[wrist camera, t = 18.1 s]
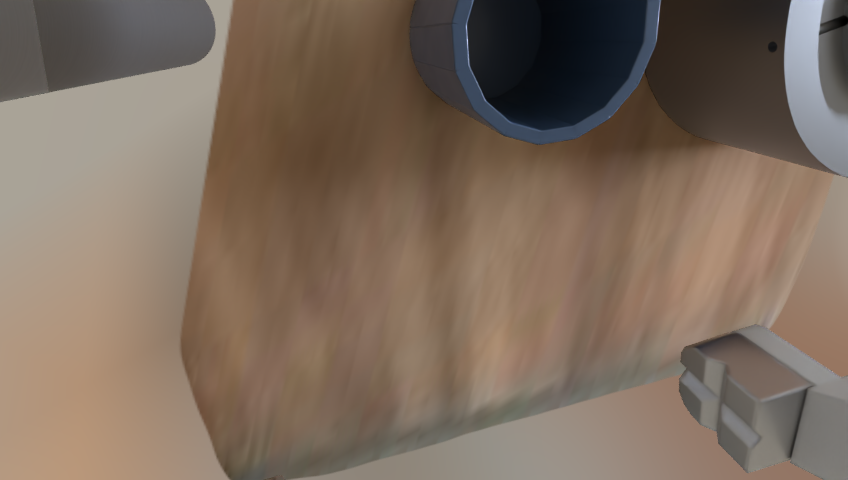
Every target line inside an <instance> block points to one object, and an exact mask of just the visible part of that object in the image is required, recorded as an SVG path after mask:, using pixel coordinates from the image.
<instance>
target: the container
mask: <svg viewBox="0 0 848 480" xmlns="http://www.w3.org/2000/svg"><path fill="white" fill-rule="evenodd" d="M645 72H646V76H647V79H648V82H649V84H650V87H651V89H652V92H653V94H654V96H655V98H656V99H657V101H658V103H659V104H660V106H661V107H662V109H663V110H664V111H665V112H666V114H667V115H668V116H669V117H670V118H671V119H672V120H673V121H674V122H675V123H676V124H677V125H679V126H680V127H681V128H683V129H684V130H686V131H688V132H689V133H691V134H693V135H695V136H698V137H700V138H703V139H707V140H710V141H714V142H718V143H721V144H725V145H729V146H732V147H736V148H740V149H744V150H747V151H751V152H755V153H758V154H762V155H766V156H769V157H773V158H777V159H780V160H784V161H788V162H791V163H795V164H799V165H803V166H806V167H810V168H814V169H817V170H821V171H825V172H828V173H832V174H836V175H839V176H843V177H847V178H848V0H661V2H660V12H659V21H658V31H657V41H656V45H655V47H654V50H653V52H652V54H651V57H650V59H649V61H648V64H647V66H646V68H645Z"/></svg>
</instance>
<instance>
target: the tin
mask: <svg viewBox="0 0 848 480" xmlns="http://www.w3.org/2000/svg"><path fill="white" fill-rule="evenodd" d="M660 2H661V0H416V1H415V4H414V8H413V11H412V16H411V21H410V46H411V52H412V56H413V61H414V63H415V65H416V68H417V70H418V72H419V74H420V76H421V77H422V79H423V81H424V82H425V84H426V86H427V87H428V88H429V89H430V90H432V91H433V92H434V93H435V94H436V95H437V96H439V97H440V98H441V99H442V100H444V101H445V102H446V103H447V104H449V105H451V106H452V107H454V108H456V109H458V110H460V111H461V112H463V113H465V114H467V115H468V116H470V117H472V118H474V119H475V120H477V121H479V122H481V123H482V124H484V125H486V126H488V127H489V128H491V129H493V130H495V131H496V132H498V133H500V134H502V135H504V136H506V137H510V138H514V139H518V140H522V141H525V142H529V143H533V144H537V145H538V144H539V145H542V144H548V143H554V142H560V141H566V140H572V139H575V138H578V137H580V136H581V135H583V134H585V133H586V132H588V131H590V130H591V129H593V128H595V127H596V126H598V125H600V124H601V123H603V122H605V121H606V120H608V119H610V117H612V115H613V114H614V113H615V112H616V111H617V110H618V108H619V107H620V106H621V105H622V104H623V103H624V101H625V100H626V99H627V98H628V97H629V96H630V94H631V93H632V92H633V91H634V90H635V88H636V87H637V86H638V84H639V82H640V80H641V78H642V75H643V73H644V71H645V68H646V66H647V64H648V61H649V59H650V57H651V54H652V52H653V50H654V47H655V45H656V41H657V31H658V21H659V12H660Z"/></svg>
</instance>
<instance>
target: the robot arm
mask: <svg viewBox="0 0 848 480" xmlns="http://www.w3.org/2000/svg"><path fill="white" fill-rule="evenodd" d="M680 362H681V363H682V364H683V365H684V366H685V367H686V370H685V371H684V373H683V374H682V376H681V377H680V378H679V392H680V394H681V397H682V400H683V402H684V405H685V406H686V408H687V409H688V411H689V412H690V414H691V415H692V416H693V417H694V418H695V419H696V420H697V421H698V423H699V424H700V425H702V426H705V427H707V428H709V429H712V430H714V431H716V432H717V437H718V443H719V445H720V446H721V447H722V448H723V449H724V450H725V451H726V452H727V453H728V454H729V455H730V456H731V457H732V458H733V459H734V460H735V461H736V462H737V463H738V464H739V465H740V466H741V467H742V468H743V469H744V470H745V471H746V472H747V473H749V472H753V471H756V470H759V469H762V468H765V467H768V466H772V465H775V464H778V463H782V462H785V461H788V460H791V461H790V463H792V464H794V465H796V466H798V467H800V468H802V469H804V470H806V471H808V472H809V473H811V474H814V475H815V476H817V477H819V478H821V479H823V480H848V376H844V377H840V376H838V375H837V374H835V373H834V372H832V371H831V370H829V369H828V368H826V367H825V366H823V365H821V364H820V363H818V362H817V361H815V360H814V359H812V358H811V357H809V356H808V355H806V354H805V353H803V352H802V351H800V350H799V349H797V348H796V347H794V346H793V345H791V344H790V343H788V342H786V341H785V340H784V339H782V338H781V337H779V336H778V335H776V334H775V333H773V332H772V331H770V330H768V329H767V328H765V327H763V326H760V325H756V324H754V325H751V326H748V327H745V328H742V329H739V330H736V331H732V332H730V333H725V334H722V335H719V336H716V337H713V338H710V339H707V340H704V341H701V342H698V343H695V344H692V345H689V346H686V347H685V348H684V349H683V351H682V352H681V361H680ZM265 480H284V478H283V476H276V477H272V478H269V479H265Z"/></svg>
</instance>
